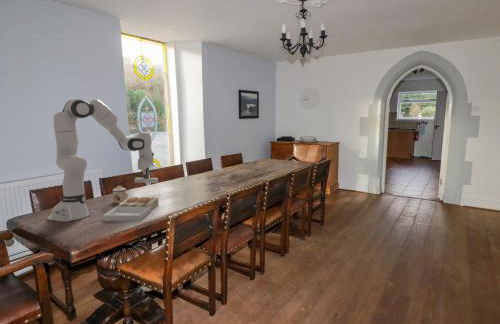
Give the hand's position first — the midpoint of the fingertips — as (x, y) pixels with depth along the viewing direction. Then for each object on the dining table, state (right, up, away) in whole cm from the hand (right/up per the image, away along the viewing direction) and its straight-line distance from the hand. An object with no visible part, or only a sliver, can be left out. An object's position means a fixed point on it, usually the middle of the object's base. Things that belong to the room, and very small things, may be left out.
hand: (146, 173), depth 211 cm
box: (-1, -25, -29) cm, 38 cm away
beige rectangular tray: (0, -22, -12) cm, 25 cm away
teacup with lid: (-19, -20, +2) cm, 28 cm away
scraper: (0, -6, +1) cm, 6 cm away
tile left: (-4, -18, -14) cm, 23 cm away
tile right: (+4, -18, -14) cm, 23 cm away
